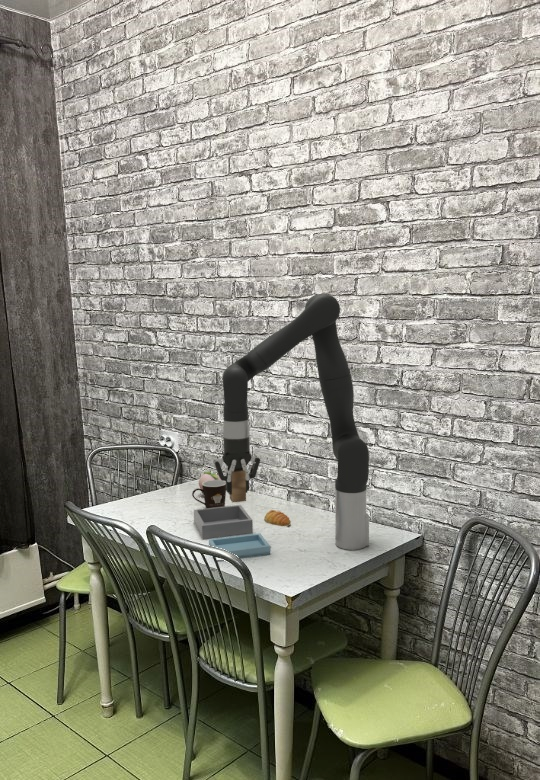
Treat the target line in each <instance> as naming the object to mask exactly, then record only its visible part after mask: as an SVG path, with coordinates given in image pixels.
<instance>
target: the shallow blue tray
mask: <svg viewBox="0 0 540 780" xmlns="http://www.w3.org/2000/svg"><path fill="white" fill-rule="evenodd" d="M209 545H210V546H214V547H218V548H222V549H225V550H227V551H229V552H231V553H233V554H235V555H237V556H238V557H239V558H240V559H245V558H246V559H247V558H255V557H262V556H267V555H271V545H270V543H269V542H268V541H267V540H266V539H265V537H264V536H263V534H262V533H253V534H245V535H237V536H229V537H221V538H212V539H208V546H209Z"/></svg>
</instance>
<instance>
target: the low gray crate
mask: <svg viewBox="0 0 540 780" xmlns="http://www.w3.org/2000/svg"><path fill="white" fill-rule="evenodd" d="M253 522H254V521H253V519H252V517H251V516H250V515H249V513H248V512H247V511H246V509H244V507H243V506H242V505H241V504H236V505H225V506H224V507H215V508H206V507H205V508H199V509H193V523H194V526H195V528H196V530H197V532H198V533H199V535H200V537H201V539H202V541H203V540H209V539H217V538H225V537H233V536H242V535H250V534H254V526H253Z"/></svg>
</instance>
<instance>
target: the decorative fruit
mask: <svg viewBox="0 0 540 780" xmlns="http://www.w3.org/2000/svg"><path fill="white" fill-rule="evenodd" d="M209 480H221V479H220V478H219V475H218V473H217V474H216V473H213V472H212V470H209V471H204V472H203V474H202V475H201V476H200V477H199V479H198V487H199V489H203V487H202V483H203V482H205V481H209Z"/></svg>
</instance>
